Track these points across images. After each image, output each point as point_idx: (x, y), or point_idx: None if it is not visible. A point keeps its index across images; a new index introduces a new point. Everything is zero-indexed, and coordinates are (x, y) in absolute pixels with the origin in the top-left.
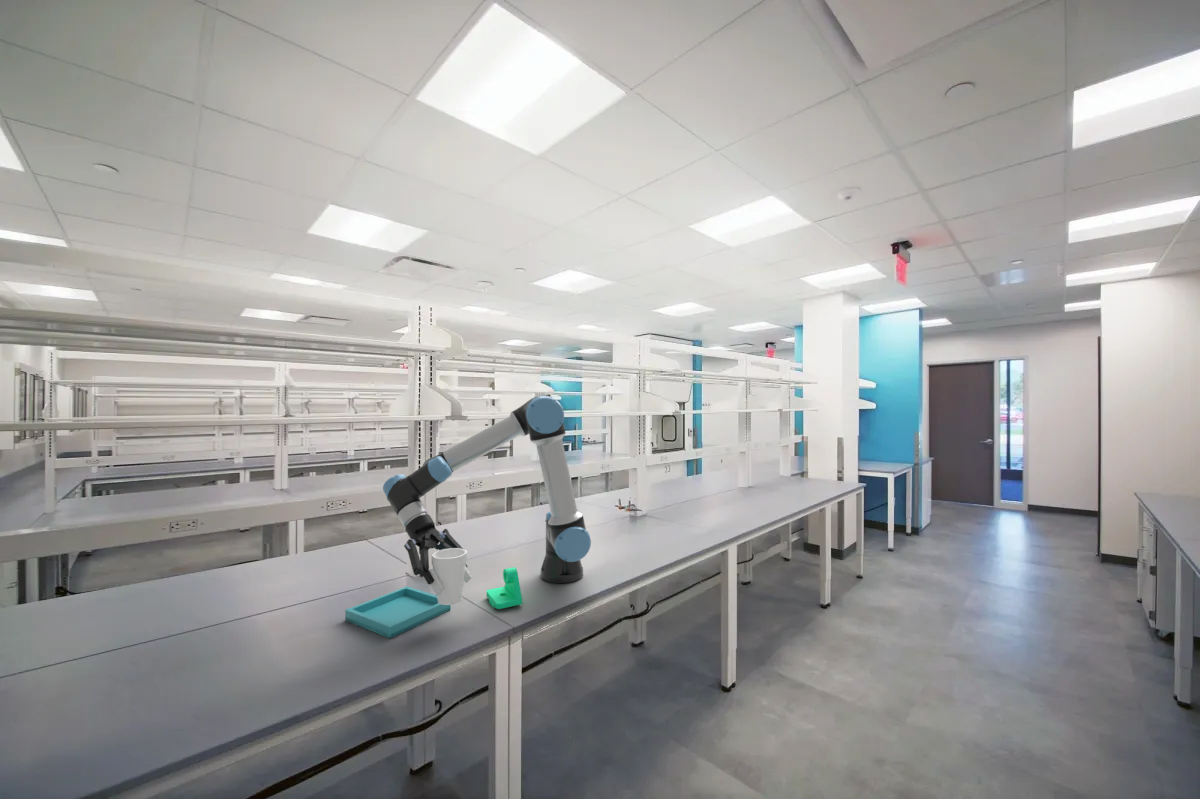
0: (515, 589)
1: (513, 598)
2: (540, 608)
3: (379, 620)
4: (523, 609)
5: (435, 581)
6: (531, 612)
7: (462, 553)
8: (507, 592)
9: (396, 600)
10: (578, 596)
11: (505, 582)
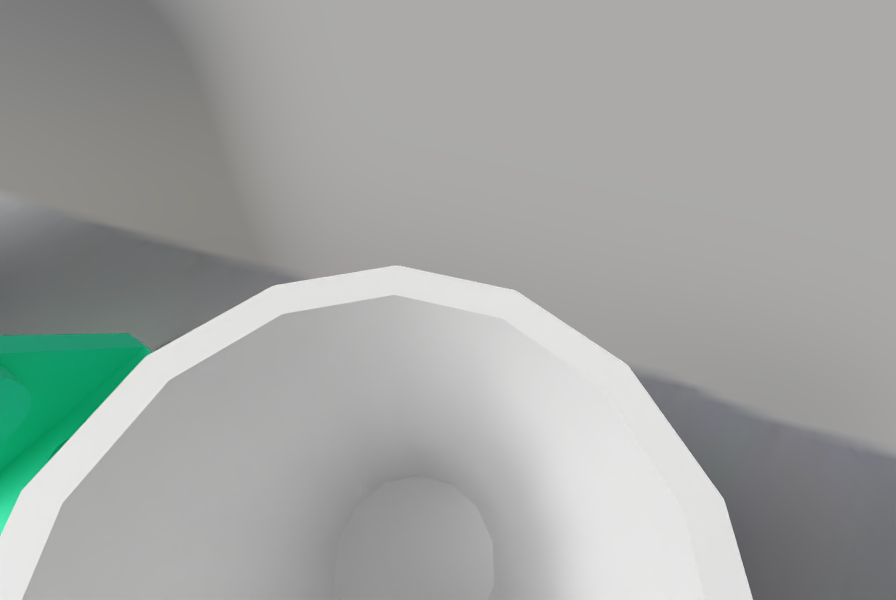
0: (87, 349)
1: (125, 373)
2: (155, 279)
3: None
4: (176, 331)
5: None
6: (200, 289)
7: (131, 495)
8: (36, 454)
9: None
10: (17, 213)
11: (6, 431)
